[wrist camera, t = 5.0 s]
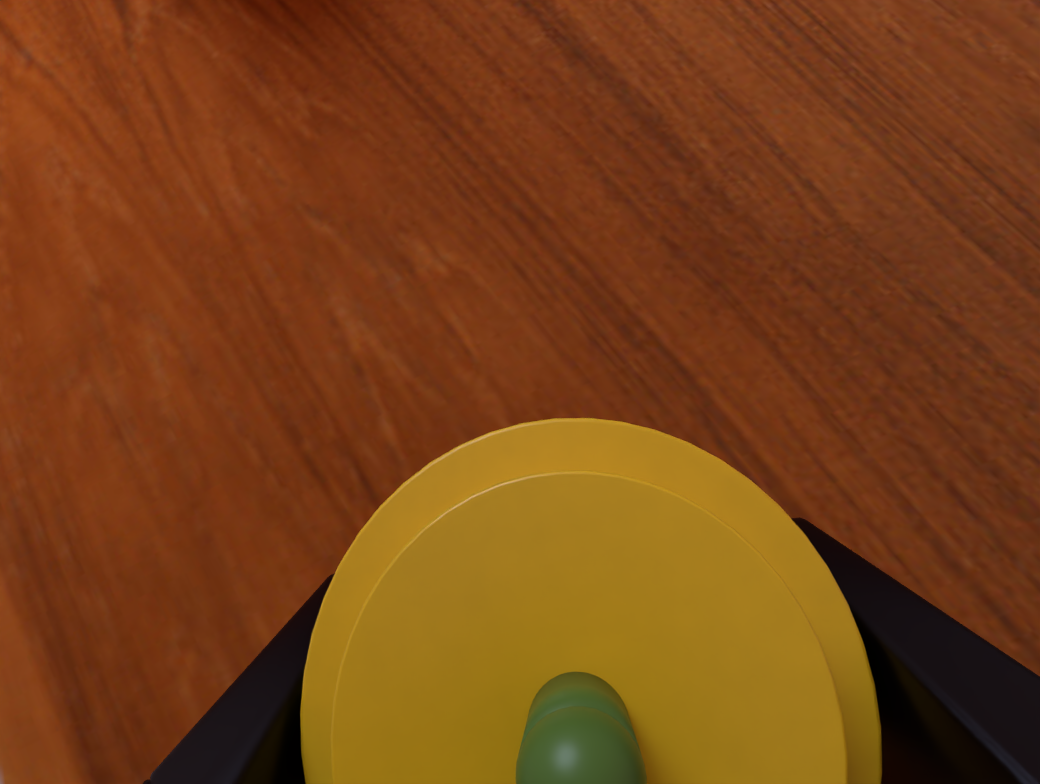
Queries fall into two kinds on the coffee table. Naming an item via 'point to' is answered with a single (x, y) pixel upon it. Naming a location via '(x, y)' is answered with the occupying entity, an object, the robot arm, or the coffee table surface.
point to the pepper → (585, 626)
